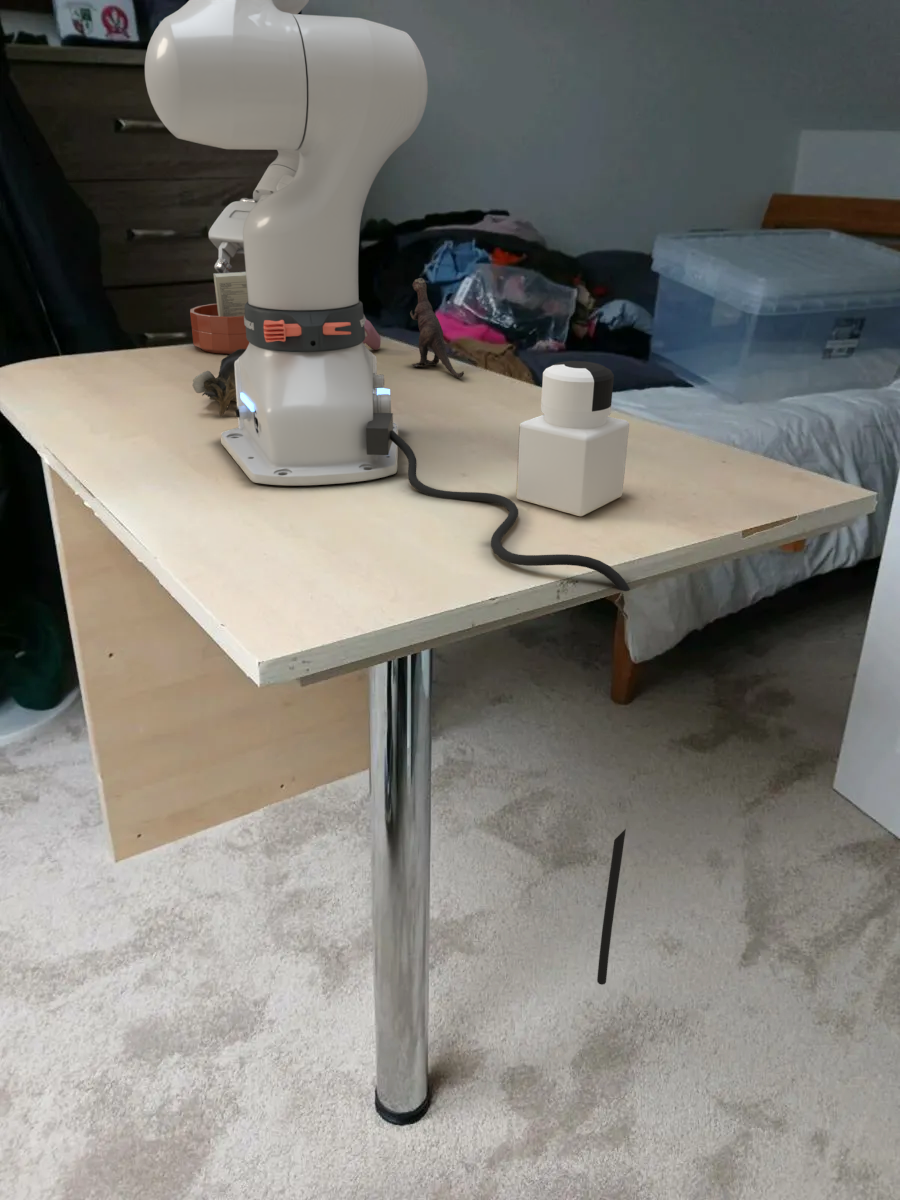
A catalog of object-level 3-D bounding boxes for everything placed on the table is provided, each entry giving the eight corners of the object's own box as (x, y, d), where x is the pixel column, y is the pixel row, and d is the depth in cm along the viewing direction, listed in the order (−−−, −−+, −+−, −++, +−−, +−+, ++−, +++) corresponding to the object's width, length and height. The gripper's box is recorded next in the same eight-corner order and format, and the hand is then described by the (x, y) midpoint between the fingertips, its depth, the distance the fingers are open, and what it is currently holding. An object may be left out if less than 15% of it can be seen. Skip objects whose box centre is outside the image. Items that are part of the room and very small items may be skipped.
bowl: (284, 353, 141) (282, 315, 138) (193, 356, 138) (189, 318, 136) (278, 336, 152) (276, 301, 150) (194, 339, 149) (190, 303, 147)
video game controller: (315, 358, 145) (304, 320, 139) (325, 340, 147) (315, 301, 142) (375, 363, 142) (366, 324, 137) (384, 344, 145) (376, 305, 139)
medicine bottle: (558, 480, 90) (566, 353, 85) (623, 497, 86) (636, 364, 81) (514, 499, 85) (520, 365, 80) (581, 518, 81) (592, 378, 76)
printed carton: (252, 338, 148) (247, 271, 143) (256, 344, 144) (251, 274, 139) (219, 340, 146) (212, 272, 142) (221, 345, 142) (215, 275, 138)
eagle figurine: (270, 406, 109) (274, 374, 116) (230, 357, 105) (237, 327, 112) (218, 439, 110) (225, 406, 118) (176, 392, 107) (187, 361, 114)
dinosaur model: (421, 274, 132) (483, 295, 121) (422, 357, 138) (481, 384, 127) (396, 277, 130) (457, 298, 119) (398, 361, 136) (456, 389, 125)
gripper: (224, 183, 148) (182, 254, 145) (321, 188, 137) (277, 265, 134) (248, 212, 153) (207, 281, 150) (342, 220, 142) (301, 294, 139)
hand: (241, 274), depth 142 cm, fingers open, 8 cm apart
